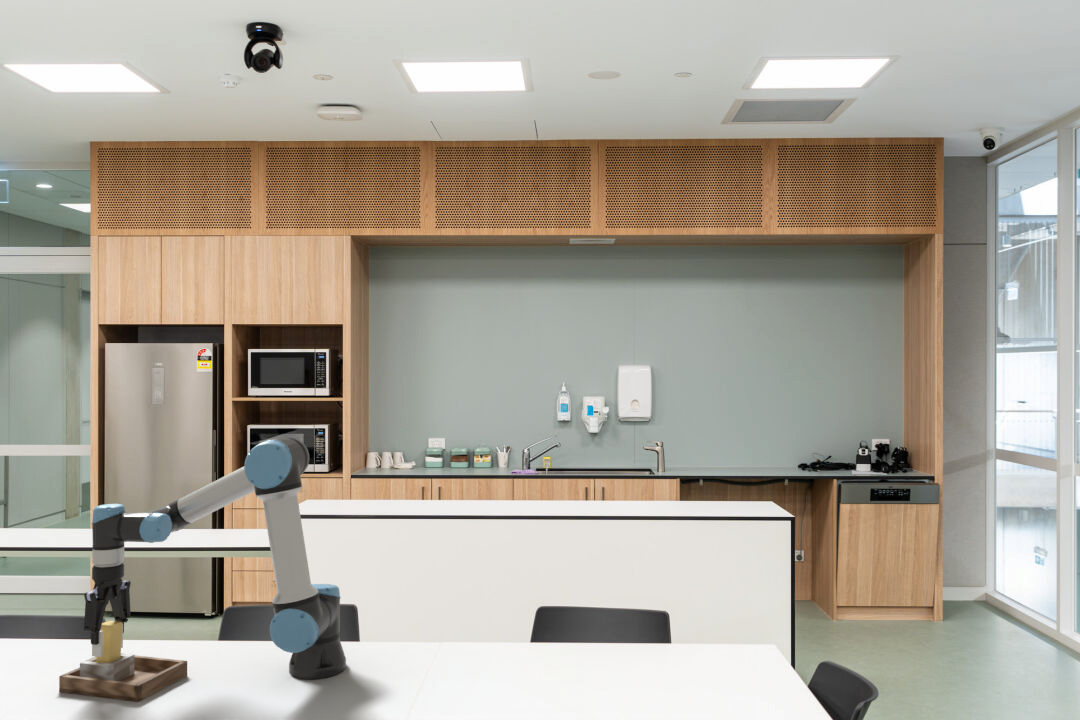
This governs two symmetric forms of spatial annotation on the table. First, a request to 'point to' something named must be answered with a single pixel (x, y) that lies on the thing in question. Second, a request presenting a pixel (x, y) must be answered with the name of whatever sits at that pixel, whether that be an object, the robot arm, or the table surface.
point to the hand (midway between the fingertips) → (107, 651)
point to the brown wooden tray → (123, 677)
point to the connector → (111, 641)
